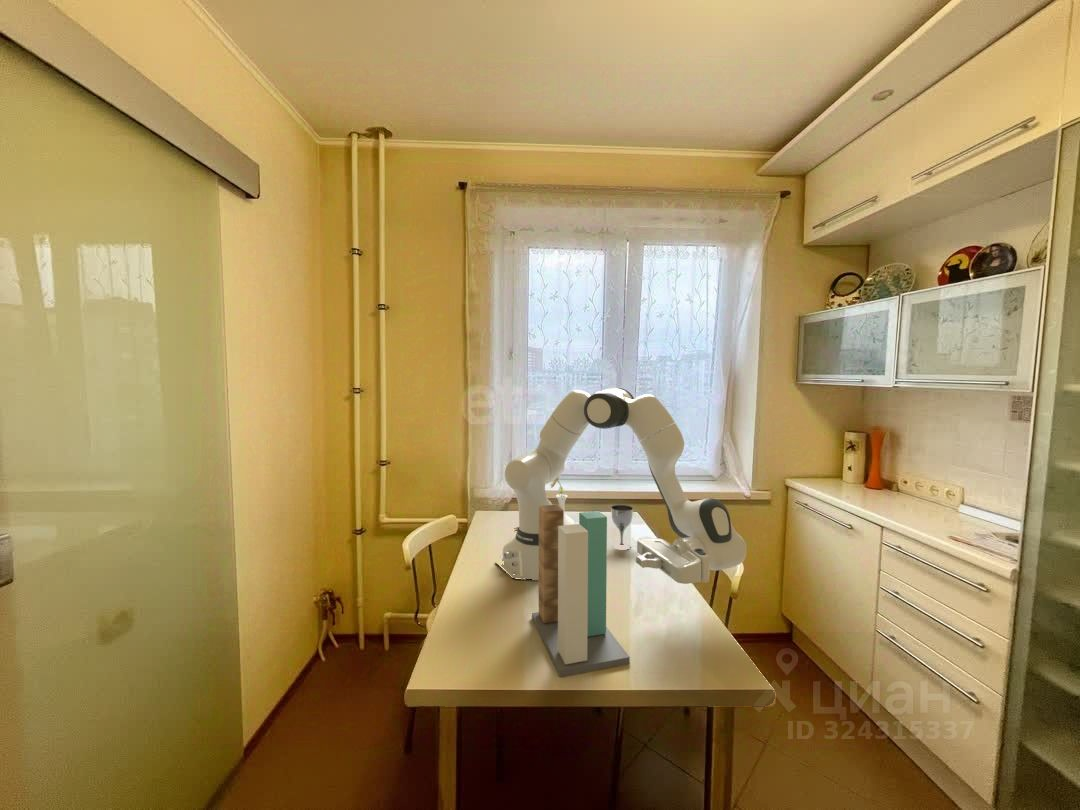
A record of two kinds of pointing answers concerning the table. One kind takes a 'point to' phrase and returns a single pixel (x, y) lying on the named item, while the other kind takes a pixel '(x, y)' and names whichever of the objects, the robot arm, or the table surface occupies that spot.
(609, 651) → the board
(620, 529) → the wine glass
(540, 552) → the walnut post
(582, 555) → the cream post
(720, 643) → the table surface
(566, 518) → the flower in vase
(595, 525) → the teal post
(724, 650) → the table surface
